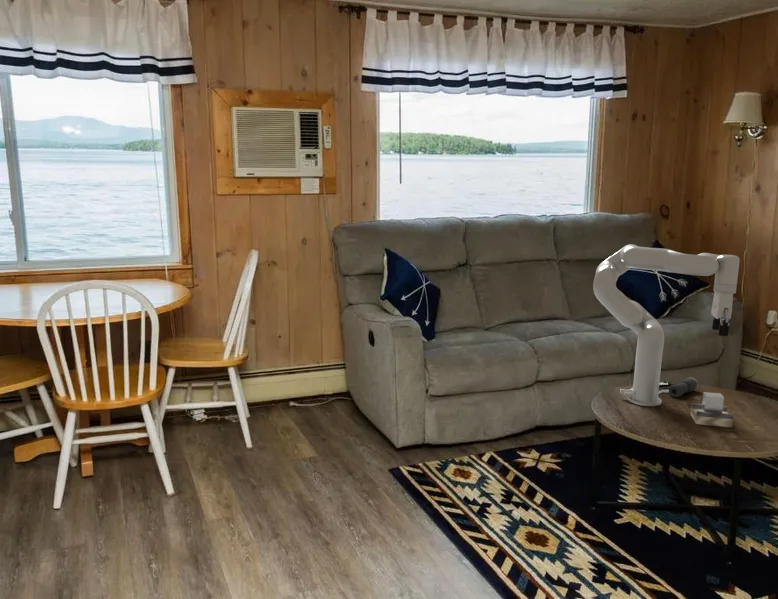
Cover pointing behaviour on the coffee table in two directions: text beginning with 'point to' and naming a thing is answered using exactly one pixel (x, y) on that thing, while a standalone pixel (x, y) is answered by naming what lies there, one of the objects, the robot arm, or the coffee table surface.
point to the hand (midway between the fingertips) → (719, 332)
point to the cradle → (711, 416)
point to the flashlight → (683, 387)
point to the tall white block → (712, 402)
